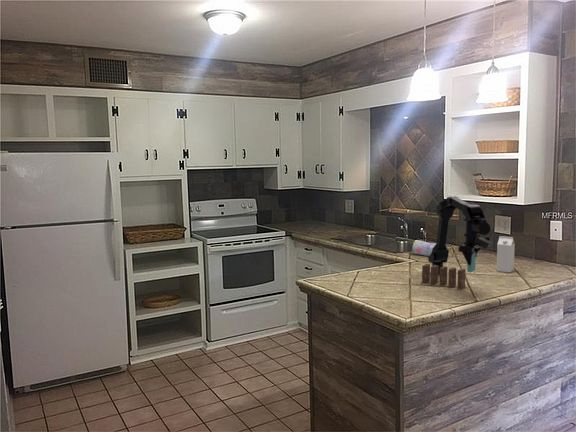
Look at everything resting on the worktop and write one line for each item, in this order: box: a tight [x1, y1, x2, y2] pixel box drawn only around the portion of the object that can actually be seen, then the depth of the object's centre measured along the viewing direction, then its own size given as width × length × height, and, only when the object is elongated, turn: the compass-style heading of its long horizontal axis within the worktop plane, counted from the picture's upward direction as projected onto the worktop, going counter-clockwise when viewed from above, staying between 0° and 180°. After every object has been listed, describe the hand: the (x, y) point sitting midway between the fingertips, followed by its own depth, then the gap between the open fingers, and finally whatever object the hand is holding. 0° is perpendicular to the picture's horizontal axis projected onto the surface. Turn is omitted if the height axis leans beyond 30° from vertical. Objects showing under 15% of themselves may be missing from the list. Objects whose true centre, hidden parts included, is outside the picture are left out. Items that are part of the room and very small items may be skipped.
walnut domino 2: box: [430, 265, 439, 286], centre depth 242 cm, size 2×5×9 cm, turn 140°
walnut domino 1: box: [421, 263, 431, 285], centre depth 244 cm, size 2×5×9 cm, turn 141°
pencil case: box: [411, 239, 436, 257], centre depth 306 cm, size 21×9×10 cm, turn 49°
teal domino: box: [466, 252, 476, 273], centre depth 229 cm, size 2×5×9 cm, turn 141°
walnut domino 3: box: [438, 265, 448, 287], centre depth 239 cm, size 2×5×9 cm, turn 141°
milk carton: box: [496, 235, 516, 273], centre depth 264 cm, size 7×7×19 cm
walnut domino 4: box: [447, 266, 457, 289], centre depth 236 cm, size 2×5×9 cm, turn 141°
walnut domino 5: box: [456, 268, 467, 290], centre depth 233 cm, size 2×5×9 cm, turn 141°
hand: (471, 263), depth 229 cm, fingers closed on teal domino, 5 cm apart
